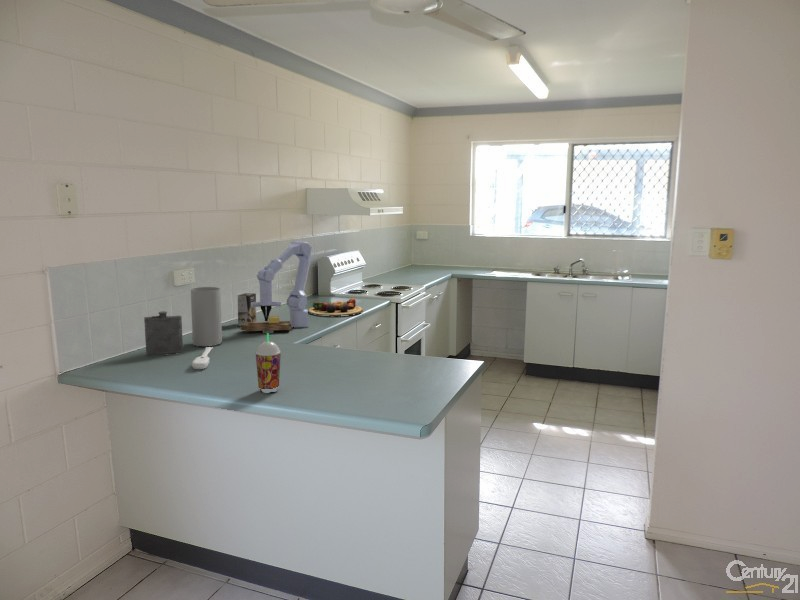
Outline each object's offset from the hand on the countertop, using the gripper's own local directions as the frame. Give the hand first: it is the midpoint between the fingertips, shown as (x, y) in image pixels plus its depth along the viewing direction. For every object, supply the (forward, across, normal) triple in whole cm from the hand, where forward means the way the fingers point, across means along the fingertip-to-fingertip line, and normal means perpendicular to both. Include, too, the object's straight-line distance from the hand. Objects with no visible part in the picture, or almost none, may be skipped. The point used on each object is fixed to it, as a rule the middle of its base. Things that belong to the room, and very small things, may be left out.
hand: (266, 321), depth 289 cm
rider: (+3, +4, 0) cm, 5 cm away
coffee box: (+6, -9, +19) cm, 22 cm away
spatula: (+6, -25, -52) cm, 58 cm away
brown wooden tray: (+4, 0, 0) cm, 4 cm away
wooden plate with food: (+6, +41, +48) cm, 64 cm away
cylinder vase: (+6, -26, -22) cm, 35 cm away
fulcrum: (+5, +1, 0) cm, 5 cm away
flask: (+6, -42, -37) cm, 56 cm away
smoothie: (+6, -1, -95) cm, 95 cm away
